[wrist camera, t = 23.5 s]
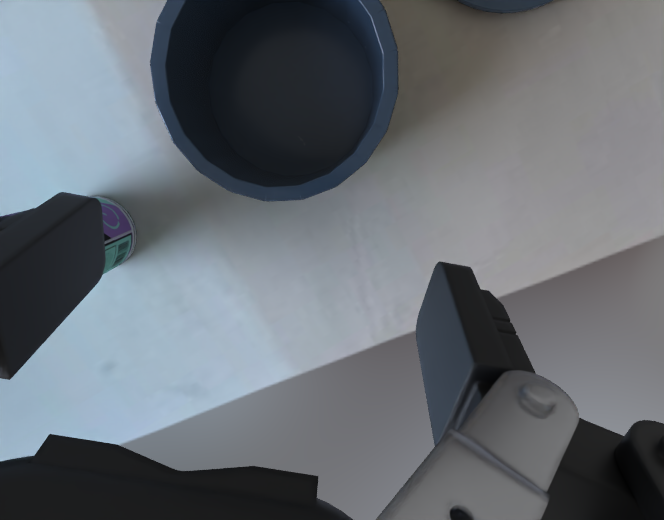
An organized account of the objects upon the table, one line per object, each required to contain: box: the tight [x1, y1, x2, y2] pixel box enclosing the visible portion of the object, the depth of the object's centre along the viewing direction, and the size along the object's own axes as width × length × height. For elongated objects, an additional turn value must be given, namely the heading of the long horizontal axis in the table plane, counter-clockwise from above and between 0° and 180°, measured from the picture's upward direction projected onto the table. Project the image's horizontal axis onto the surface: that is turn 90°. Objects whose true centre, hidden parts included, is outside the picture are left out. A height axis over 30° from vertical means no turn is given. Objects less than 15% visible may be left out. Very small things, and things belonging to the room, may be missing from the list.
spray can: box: [0, 196, 136, 275], centre depth 25 cm, size 6×6×20 cm
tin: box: [150, 0, 398, 201], centre depth 28 cm, size 13×13×8 cm
